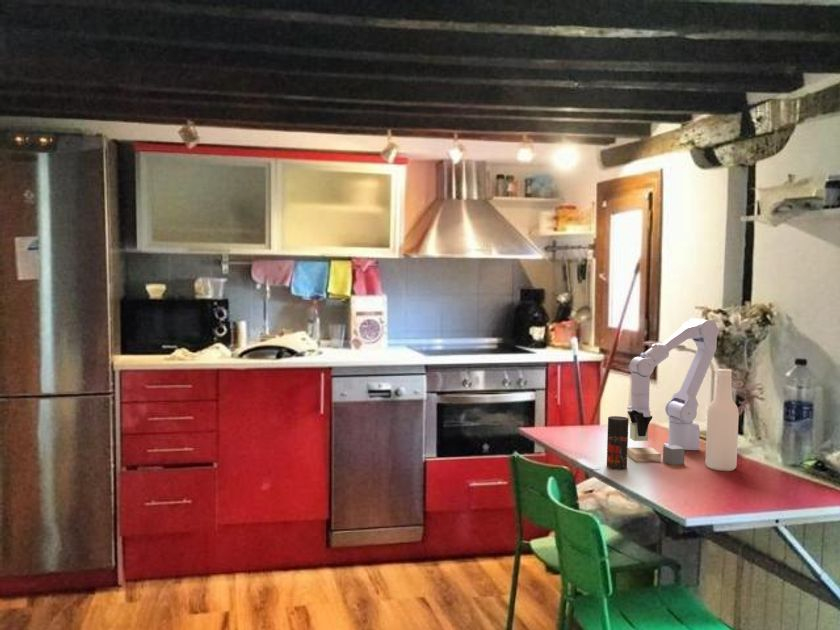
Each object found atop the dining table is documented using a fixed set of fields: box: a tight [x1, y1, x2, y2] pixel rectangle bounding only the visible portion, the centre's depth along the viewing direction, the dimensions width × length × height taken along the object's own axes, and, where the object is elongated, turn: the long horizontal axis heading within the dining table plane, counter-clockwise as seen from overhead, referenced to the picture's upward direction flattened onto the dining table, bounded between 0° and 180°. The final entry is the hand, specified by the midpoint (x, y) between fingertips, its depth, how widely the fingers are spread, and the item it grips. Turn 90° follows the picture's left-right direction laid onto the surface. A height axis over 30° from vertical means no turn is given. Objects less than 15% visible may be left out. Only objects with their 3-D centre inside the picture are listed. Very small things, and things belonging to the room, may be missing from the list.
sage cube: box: [629, 422, 649, 442], centre depth 252 cm, size 4×4×5 cm
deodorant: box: [606, 415, 629, 471], centre depth 229 cm, size 6×6×15 cm
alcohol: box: [704, 368, 740, 472], centre depth 230 cm, size 9×9×30 cm
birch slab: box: [627, 447, 662, 462], centre depth 241 cm, size 8×8×2 cm
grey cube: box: [662, 445, 686, 466], centre depth 236 cm, size 4×4×5 cm
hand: (639, 434), depth 252 cm, fingers closed on sage cube, 4 cm apart
